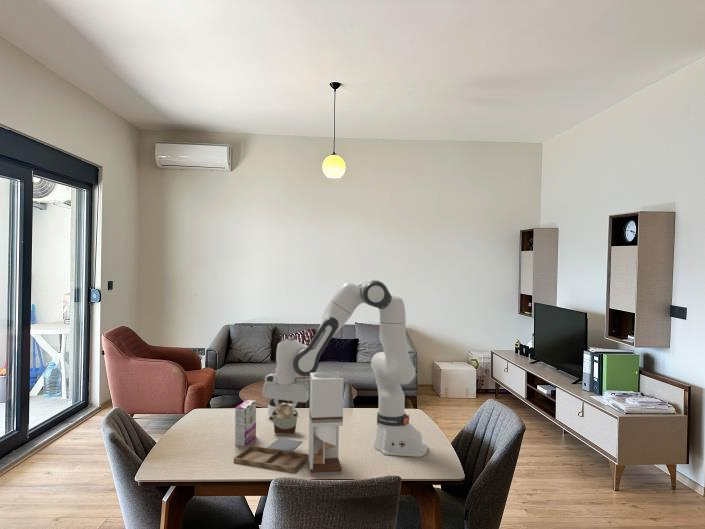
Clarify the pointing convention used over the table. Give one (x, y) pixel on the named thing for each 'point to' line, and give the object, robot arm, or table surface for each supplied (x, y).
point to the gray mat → (285, 444)
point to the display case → (325, 423)
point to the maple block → (284, 411)
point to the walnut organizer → (271, 458)
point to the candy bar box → (245, 422)
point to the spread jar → (274, 406)
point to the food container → (285, 423)
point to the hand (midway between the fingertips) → (285, 410)
